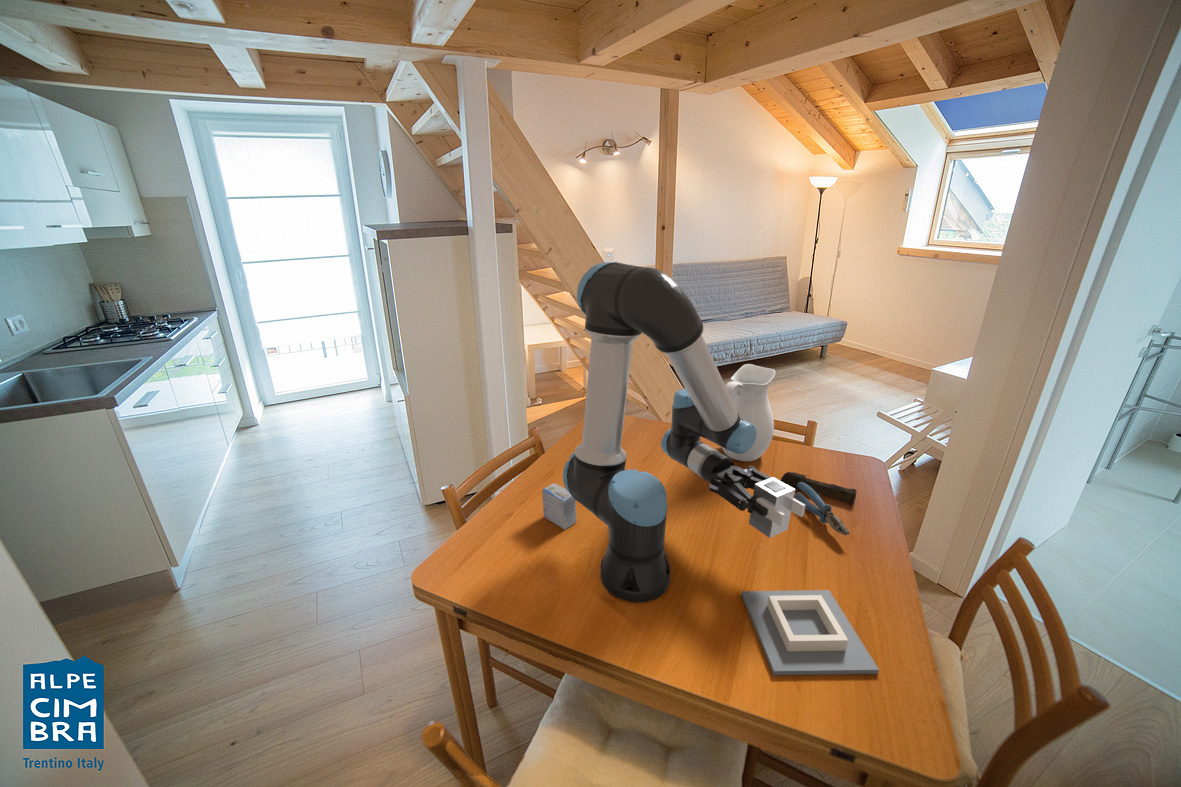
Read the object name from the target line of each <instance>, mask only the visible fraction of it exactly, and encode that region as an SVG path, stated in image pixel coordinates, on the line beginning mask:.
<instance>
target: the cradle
mask: <svg viewBox="0 0 1181 787" xmlns="http://www.w3.org/2000/svg"><path fill="white" fill-rule="evenodd" d="M741 598H742V601H743V602H744V605H745V607H746V610H747V613H748V615H749V618H750V620H751V623H752V625H753V628H754V630H755V632H756V635H757V638H758V640H759V642H760V645H761V648H762V651H763V653H764V655H765V658H766V660H767V663H768V665H769V668H770V671H771V673H772V676H805V675H806V676H809V675H811V676H814V675H816V676H817V675H818V676H819V675H821V676H823V675H829V676H830V675H878V674H879V671H880V668H879V667H878V665H877V664H876V662H875V660H874V659H873V658H872V656H871V655H870V653H869V651H868V650H867V648H866V646H865V644H863V642H862V640H861V639H860V636H859V635H858V633H857V631H855V629H854V628H853V626H852V624H851V623H850V620H848V618H847V616H846V615H845V613H844V611H843V610H842V609H841V606H840V605H839V604H838V602H837V599H836V598H835V597H834V596H833V594H832V592H831V590H830V589H818V590H816V589H814V590H813V589H810V590H807V589H805V590H804V589H803V590H742V591H741Z"/></svg>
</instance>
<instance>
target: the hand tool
mask: <svg viewBox="0 0 1181 787" xmlns="http://www.w3.org/2000/svg"><path fill="white" fill-rule="evenodd" d="M780 481H781V482H783V483H785V484H787V485H788V486H790V487H792V488H794V489H795V491H798V492H803V491H802V490H801V489H800V488H798V486H797V484H798V483H799V482H803V483H805V484H807V485H809V486H810V487H811V488H812V489H813V490H814V491H815V492H816V493H817V494H818V495H822V496H826V497H829V498H832V499H837V500H840V501H843V502H848V503H850V505H852V506H853V505H854V503H855V501H856V498H857V490H856V488H847V487H843V486H839V485H836V484H835V483H834V484H833V483H827V482H823V481H820V480H819V481H818V480H815V479H812V478H811V479H810V478H808V477H806V475H805V474H801V473H798V472H794V471H793V472H792V471H788V472H785V473H783V475H782V476H781V478H780Z"/></svg>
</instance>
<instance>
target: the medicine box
mask: <svg viewBox="0 0 1181 787" xmlns="http://www.w3.org/2000/svg"><path fill="white" fill-rule="evenodd" d="M541 492H542V494H541V495H542V507H543V508H542V509H543V517H544V518H545V519H547V520H548V521H550V522H551V523H553V524H555V525H557V526H558V527H560V528H561V529H563V530H567V529H568V528H570V527H571V526H573V525H574V524H576V523H577V501H576V500H575V499H574V498H573V497H572V496H571V494H570V493H569V492H568V491H567V490H566V488H565V487H563V486H561V485H559V484H557V483H552V484H549V485H548V486H546V487H545V488H544V487H543V489H542V490H541Z"/></svg>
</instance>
